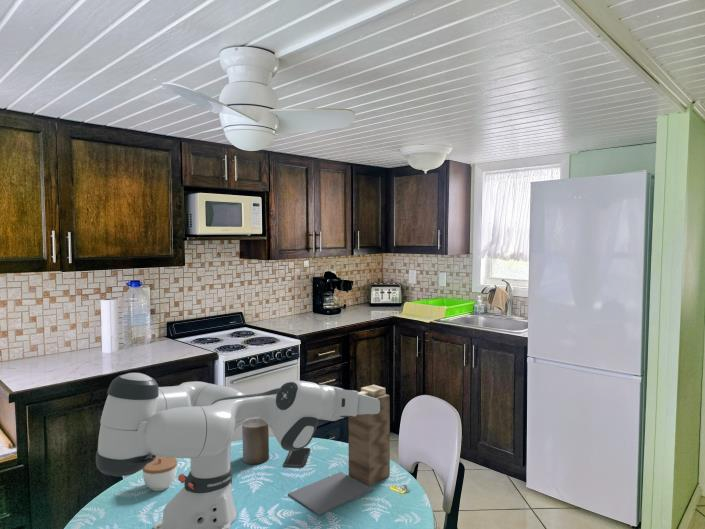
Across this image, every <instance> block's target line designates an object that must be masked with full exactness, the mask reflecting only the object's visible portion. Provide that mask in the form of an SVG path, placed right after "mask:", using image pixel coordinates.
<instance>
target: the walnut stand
mask: <svg viewBox="0 0 705 529" xmlns="http://www.w3.org/2000/svg"><path fill="white" fill-rule="evenodd" d="M359 392H361V390H360V391H359ZM369 397H370V396H369ZM373 398H376V399H378V400H379V401H380V412H379V413H378V414H361V415H356V416H353V417H347V418H348V424H347V425H348V428H347V429H348V476H350V477H352V478H354V479H356V480H358V481H360V482H361V483H363V484H365V485H367V486H369V487H370V486H371V485H373V484H375V483H377V482H380V481H383V480H384V479H387V478H389V477H390V476H391V475H390V474H391V471H390V468H391V466H390V463H391V460H390V458H391V455H390V454H391V451H390V450H391V445H390V443H391V442H390V441H391V437H390V436H391V435H390V434H391V430H390V429H391V425H390V424H391V421H390V420H391V419H390V416H391V414H390V412H391V411H390V410H391V408H390V406H391V404H390V403H391V401H390V399H391V398H390V394H387V393H385V394H384V395H380V396H377V397H373ZM388 476H389V477H388ZM386 477H387V478H386Z"/></svg>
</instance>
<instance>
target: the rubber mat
mask: <svg viewBox="0 0 705 529" xmlns="http://www.w3.org/2000/svg"><path fill="white" fill-rule="evenodd" d="M372 491H374V488H373V487H371V486H370V485H369V486H368V485H366V484H365V483H363V482H361V481H359V480H357V479H355V478H353V477H351V476H349V474H346V473H344V472H343V471H339V472H337V473H334V474H332V475H330V476H327V477H325V478H323V479H319V480H317V481H314V482H313V483H310V484H307V485H305V486H302V487H300V488H298V489H296V490H292V491H290V492H288V493H287V494H288V496H289V497H291V498H293V500H295V501H296V502H298V503H300V504H301V505H303V506H305V507H306V508H307V509H309V510H310V511H311V512H313V513H315V514H317V516H321V515H323V514H326V513H328V512H330V511H331V510H334V509H337V508H339V507H340V506H343V505H344V504H346V503H349V502H351V501H354V500H355V499H357V498H360V497H361V496H363V495H366V494H367V493H370V492H372Z"/></svg>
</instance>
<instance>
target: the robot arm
mask: <svg viewBox="0 0 705 529" xmlns="http://www.w3.org/2000/svg"><path fill="white" fill-rule="evenodd" d="M358 392H359V391H357V390H353V389H352V390H351V389H345V388H341V387H338V386H333V385H327V384H318V383H315V382H312V381H307V380H306V381H305V380H292V381H287V382H284V383H283V384H282V385H281V386H280V387H277V388H274V389H271V390H268V391H267V390H266V391H263V392H260V393H253V394H252V393H251V394H244V393H243V392H241V391H239V390H237V389H236V388H234V387H231V386H230V387H229V386H225V385H218V384H214V383H210V382H209V383H208V382H204V381H198V380H197V381H196V380H195V381H186V382H182V383H181V384H179V385H173V386H159V384H158V383H157V381H156V379H155V378H153V377H151V376H149V375H147V374H144V373H141V372H128V373H125V374H119V375H118V376H117V377H115V378H114V379H112V381H111V383H110V384H109V387H108V389H107V392H106V393H107V397H106V400H105V401H104V402H105V403H104V406H103V410H102V414H101V416H100V422H99V424H100V427H99V433H98V440H97V441H98V442H97V450H96V452H95V465H96V468H97V469H98V470H99V471H100V472H101V473H102V474H104V475H107V476H113V477H126V476H131V475H133V474H136V473H139V472H140V471H141V470H142V469H143V468H144V467H145V466H146V465H147V464H148V463H150V462H152V461H153V460H154V459H155V458H157V457H168V458H176V459H190V471H189V473H188V475H185V474H184V473H180V474H179V475H178V476H177V480H178V481H179V482H180V483H182V484H184V486H183V488H181V489H180V490H179V492H178V493H177V494H175V495H174V496H173V497H172V498H171V500H169V502H167V503H166V505H165V506H164V509H163V514H162V519H160V520H158V521H157V522H155V524H154V527H153V529H231V525H232V524H233V523H234V521H235V520H236V518H237V515H238V513H237V509H236V506H235V503H234V497H233V491H232V485H233V467H232V465H231V447H232V439H233V435H234V433H235V431H236V430H237V428H238V427H240V426H242V423H243V422H245V421H246V420H249V419H255V418H261V419H263V420H264V421H265V422H266V423H267V424H268V428H269V429H270V431H271V432H272V434H273V436H274V437H275V439H276V441H277V442H278V444H279V445H280V446H281V448H282V449H283V450H284V451H288V452H290V451H296V450H299V449H302V448H307V446H308V445H309V444H310V442H312V440H313V437H314V435H315V433H316V430H317V428H318V425H319V422H320V420H323V421H330V422H336V421H339V420H342V419H344V418H348V417H353V416H356V415H361V414H378V413H379V412H380V401H379V400H378V399H376V398H373V397H369V396H366V395H362V394H358Z"/></svg>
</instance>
